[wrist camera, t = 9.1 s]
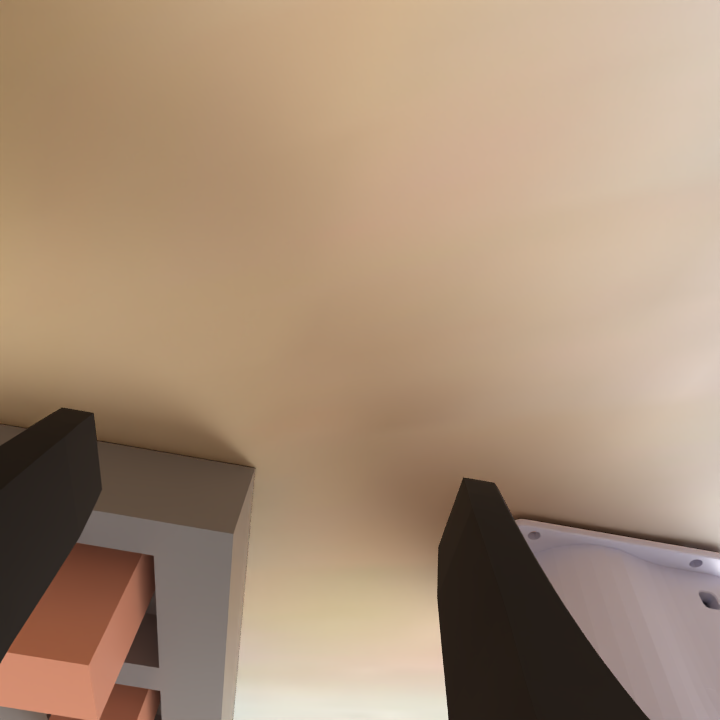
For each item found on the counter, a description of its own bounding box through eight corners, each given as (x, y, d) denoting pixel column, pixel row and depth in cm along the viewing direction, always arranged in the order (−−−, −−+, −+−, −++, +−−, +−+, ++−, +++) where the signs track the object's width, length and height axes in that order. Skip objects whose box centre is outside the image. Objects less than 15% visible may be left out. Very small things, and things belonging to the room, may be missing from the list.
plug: (153, 530, 25) (88, 665, 20) (156, 587, 27) (98, 721, 22) (62, 515, 25) (-27, 646, 20) (72, 573, 27) (-6, 705, 22)
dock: (255, 468, 24) (204, 621, 18) (232, 724, 36) (197, 868, 30) (-33, 418, 24) (-180, 558, 18) (40, 693, 35) (-33, 832, 30)
